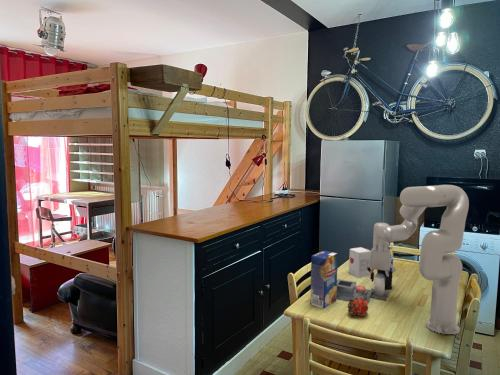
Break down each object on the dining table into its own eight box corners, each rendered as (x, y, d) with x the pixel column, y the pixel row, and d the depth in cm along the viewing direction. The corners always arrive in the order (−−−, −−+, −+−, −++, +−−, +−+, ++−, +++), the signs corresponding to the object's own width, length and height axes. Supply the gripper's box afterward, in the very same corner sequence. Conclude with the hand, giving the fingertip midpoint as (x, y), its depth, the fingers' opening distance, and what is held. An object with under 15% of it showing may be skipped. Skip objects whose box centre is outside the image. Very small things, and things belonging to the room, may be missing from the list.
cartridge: (383, 296, 187) (384, 277, 185) (373, 294, 189) (374, 275, 187) (384, 292, 191) (386, 274, 190) (374, 290, 194) (375, 272, 192)
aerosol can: (374, 288, 199) (376, 252, 197) (377, 283, 206) (378, 248, 204) (391, 291, 195) (392, 254, 193) (393, 286, 202) (394, 250, 200)
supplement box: (348, 272, 223) (349, 248, 222) (359, 270, 227) (360, 246, 225) (358, 277, 215) (359, 252, 213) (370, 275, 219) (371, 250, 217)
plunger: (364, 298, 180) (364, 289, 179) (354, 296, 182) (354, 288, 181) (366, 295, 184) (366, 286, 183) (356, 293, 186) (356, 284, 185)
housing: (367, 304, 178) (367, 294, 178) (330, 297, 187) (330, 288, 186) (372, 294, 191) (372, 284, 191) (337, 287, 200) (337, 278, 199)
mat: (386, 300, 183) (386, 299, 183) (367, 297, 187) (367, 296, 187) (389, 292, 194) (389, 291, 194) (371, 289, 198) (371, 288, 198)
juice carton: (324, 308, 174) (325, 258, 171) (310, 304, 179) (311, 255, 176) (336, 300, 183) (337, 253, 180) (323, 296, 188) (324, 250, 185)
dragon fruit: (347, 321, 165) (362, 317, 173) (362, 315, 160) (377, 311, 168) (340, 302, 169) (355, 299, 177) (354, 296, 163) (369, 293, 171)
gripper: (399, 247, 187) (398, 282, 189) (364, 243, 195) (363, 276, 197) (398, 251, 180) (396, 287, 182) (361, 247, 188) (360, 281, 190)
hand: (379, 281), depth 190 cm, fingers open, 6 cm apart
